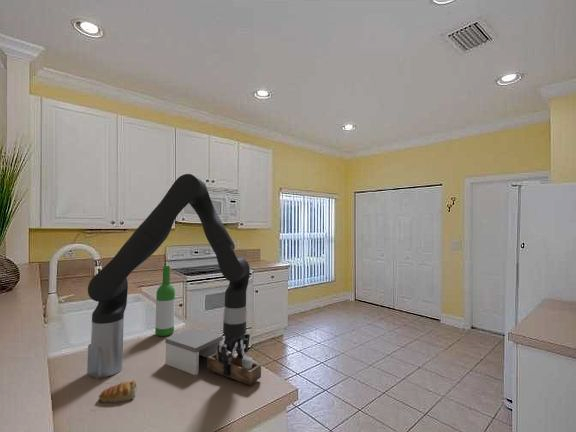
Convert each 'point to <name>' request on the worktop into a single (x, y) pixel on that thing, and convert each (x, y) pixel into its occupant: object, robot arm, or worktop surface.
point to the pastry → (119, 392)
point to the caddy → (237, 368)
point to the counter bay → (187, 357)
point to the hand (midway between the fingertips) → (233, 370)
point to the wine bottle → (165, 306)
